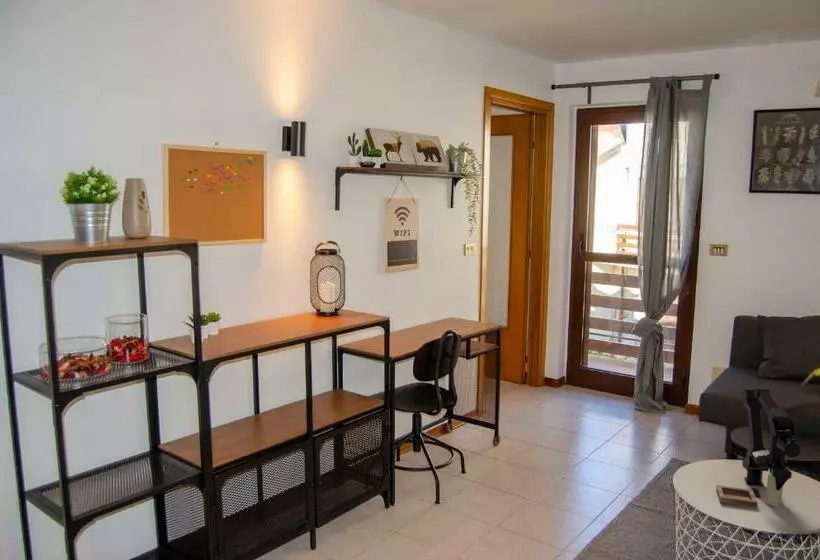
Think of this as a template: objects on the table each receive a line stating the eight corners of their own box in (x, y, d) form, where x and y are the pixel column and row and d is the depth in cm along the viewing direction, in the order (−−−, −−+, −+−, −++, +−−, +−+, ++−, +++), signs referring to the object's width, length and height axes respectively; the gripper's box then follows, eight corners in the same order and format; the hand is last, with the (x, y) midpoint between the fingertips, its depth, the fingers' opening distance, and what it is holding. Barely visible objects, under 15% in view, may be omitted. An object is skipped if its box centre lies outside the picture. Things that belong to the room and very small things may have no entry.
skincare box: (769, 498, 259) (772, 469, 257) (782, 502, 256) (785, 472, 254) (764, 503, 254) (767, 474, 252) (777, 507, 251) (780, 477, 249)
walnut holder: (716, 490, 265) (716, 485, 264) (751, 495, 261) (752, 489, 260) (720, 503, 254) (720, 497, 254) (757, 508, 250) (757, 502, 250)
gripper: (750, 435, 263) (747, 472, 265) (760, 453, 245) (756, 492, 248) (782, 438, 259) (778, 475, 262) (793, 457, 242) (789, 496, 244)
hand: (775, 484), depth 254 cm, fingers open, 9 cm apart
